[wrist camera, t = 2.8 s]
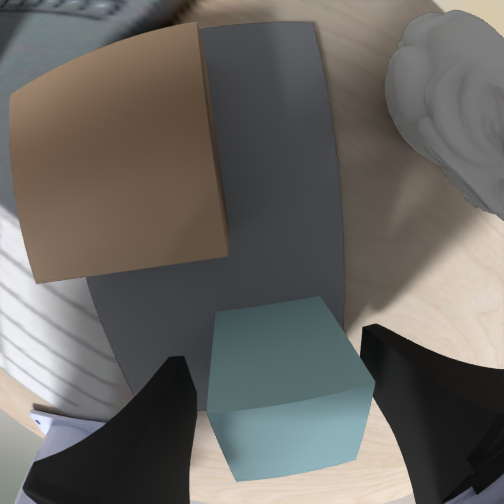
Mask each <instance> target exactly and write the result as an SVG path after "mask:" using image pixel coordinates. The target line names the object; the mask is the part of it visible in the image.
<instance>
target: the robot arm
mask: <svg viewBox="0 0 504 504" xmlns="http://www.w3.org/2000/svg"><path fill="white" fill-rule="evenodd" d="M360 358H361V360H362V361H363V363H364V365H365V366H366V368H367V369H368V371H369V373H370V374H371V376H372V377H373V379H374V381H375V387H374V392H373V398H374V400H375V401H376V403H377V405H378V406H379V408H380V410H381V411H382V413H383V415H384V417H385V418H386V420H387V422H388V423H389V425H390V427H391V429H392V431H393V433H394V435H395V438H396V440H397V443H398V445H399V448H400V450H401V453H402V456H403V459H404V461H405V464H406V467H407V470H408V474H409V477H410V481H411V484H412V488H413V493H414V497H415V502H416V504H504V369H495V368H488V367H482V366H477V365H473V364H469V363H465V362H461V361H458V360H455V359H452V358H449V357H446V356H443V355H441V354H438V353H436V352H434V351H431V350H429V349H427V348H424V347H422V346H420V345H418V344H416V343H414V342H412V341H410V340H408V339H406V338H404V337H402V336H400V335H399V334H397V333H395V332H393V331H391V330H389V329H387V328H385V327H383V326H381V325H379V324H372V325H368V326H364V327H362V340H361V351H360ZM29 415H30V416H31V418H32V419H33V420H34V422H35V423H36V424H37V425H38V427H39V428H40V429H41V430H42V432H43V433H44V434H45V435H46V436H45V438H44V440H43V442H42V444H41V446H40V448H39V450H38V452H37V454H36V456H35V458H34V460H33V462H32V464H31V466H30V468H29V470H28V472H27V475H26V477H25V479H24V481H23V484H22V486H21V488H20V491H19V493H18V495H17V498H16V501H15V503H14V504H190V495H189V470H190V459H191V452H192V446H193V439H194V432H195V425H196V419H197V391H196V388H195V385H194V383H193V380H192V377H191V374H190V371H189V368H188V365H187V362H186V359H185V356H171V357H168V358H167V360H166V361H165V362H164V363H163V364H162V366H161V367H160V368H159V369H158V370H157V372H156V373H155V374H154V375H153V377H152V378H151V379H150V380H149V381H148V382H147V384H146V385H145V386H144V387H143V388H142V389H141V391H140V392H139V393H138V394H137V395H136V396H135V397H134V398H133V399H132V400H131V401H130V402H129V403H128V404H127V405H126V406H125V407H124V408H123V409H122V410H121V411H120V412H119V413H118V414H117V415H116V416H114V417H113V418H112V419H111V420H110V421H108V422H107V423H103V422H95V421H88V420H81V419H75V418H70V417H64V416H59V415H54V414H50V413H45V412H41V411H37V410H31V411H30V412H29Z"/></svg>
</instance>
